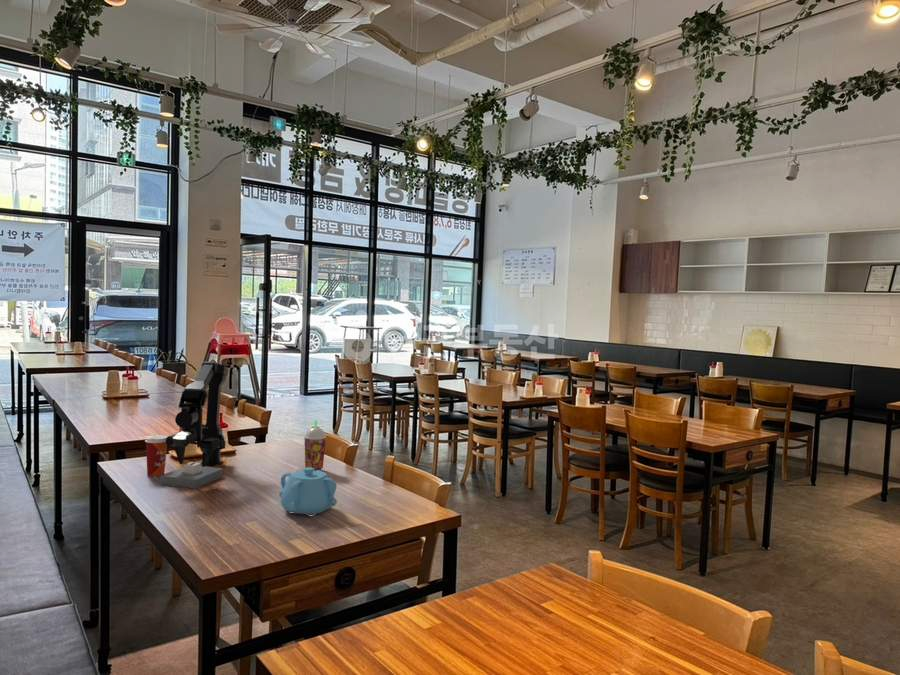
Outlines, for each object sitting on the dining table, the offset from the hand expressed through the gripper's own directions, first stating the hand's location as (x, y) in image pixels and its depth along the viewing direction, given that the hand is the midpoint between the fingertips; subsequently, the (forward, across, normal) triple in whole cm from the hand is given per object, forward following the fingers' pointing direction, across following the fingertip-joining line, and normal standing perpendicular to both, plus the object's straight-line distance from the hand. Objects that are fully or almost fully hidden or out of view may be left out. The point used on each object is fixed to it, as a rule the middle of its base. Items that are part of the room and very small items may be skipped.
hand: (192, 465), depth 217 cm
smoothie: (+6, +34, +28) cm, 44 cm away
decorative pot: (+6, +52, -14) cm, 54 cm away
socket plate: (+6, 0, 0) cm, 6 cm away
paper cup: (+6, -16, +1) cm, 17 cm away
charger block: (+6, 0, 0) cm, 6 cm away
